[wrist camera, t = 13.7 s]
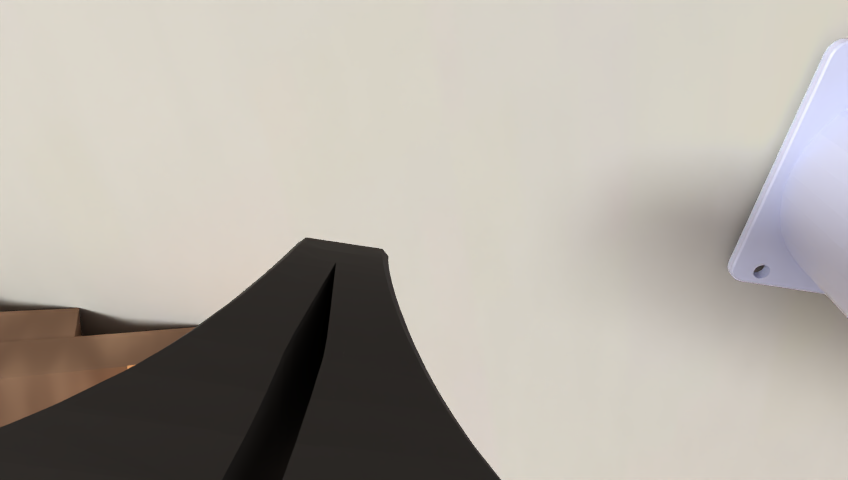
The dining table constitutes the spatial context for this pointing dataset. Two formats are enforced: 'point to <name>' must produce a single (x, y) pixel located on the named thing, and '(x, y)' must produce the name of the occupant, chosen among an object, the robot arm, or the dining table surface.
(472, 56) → the dining table surface
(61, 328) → the tile
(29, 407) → the tile
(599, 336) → the dining table surface
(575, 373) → the dining table surface
